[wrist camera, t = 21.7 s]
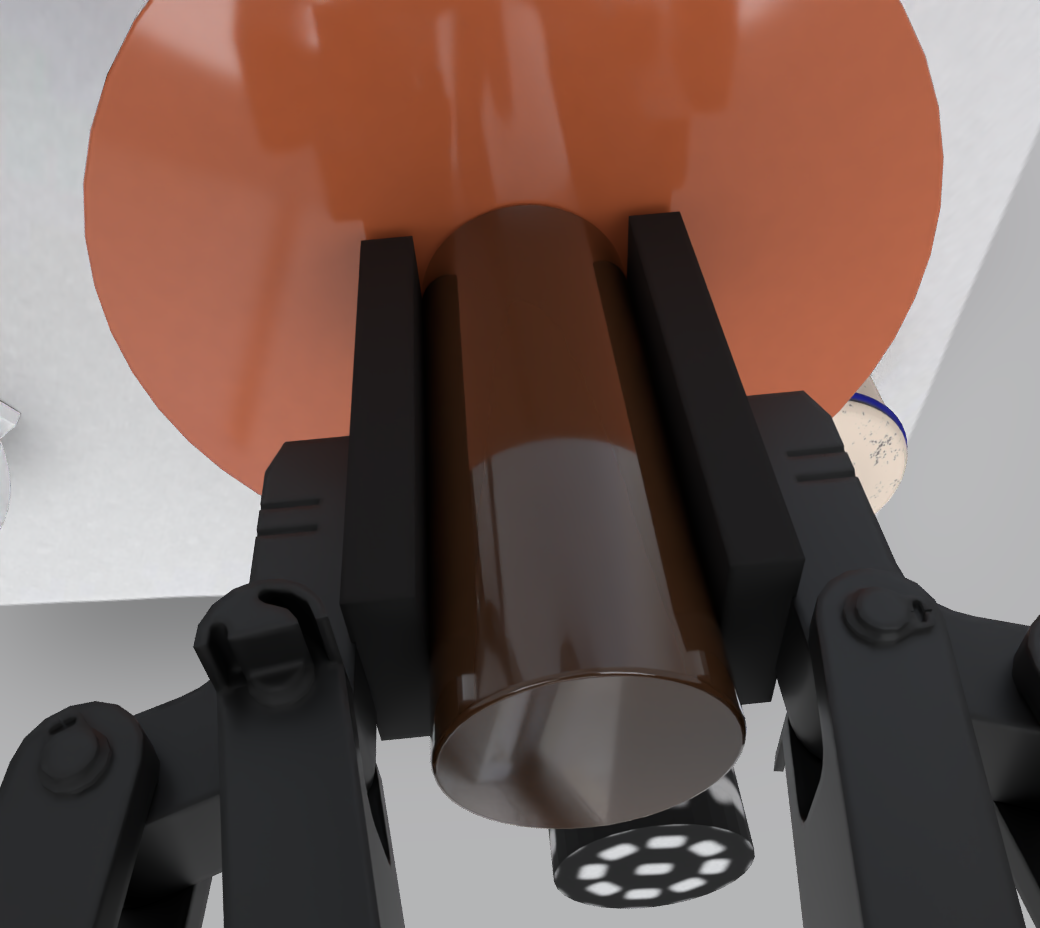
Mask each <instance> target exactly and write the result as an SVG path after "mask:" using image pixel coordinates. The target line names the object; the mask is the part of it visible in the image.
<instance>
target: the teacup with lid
mask: <svg viewBox="0 0 1040 928" xmlns="http://www.w3.org/2000/svg"><path fill="white" fill-rule="evenodd" d="M832 419H833V421H834V424H835V426H836V428H837V430H838V433H839V435H840V437H841V439H842V442H843V444H844V450H845V452H847V453H848V455H849V458H850V460H851V462H852V464H853V467H854V469H855V476H856V477H858V478H859V480H860V482H861V485H862V487H863V489H864V491H865V494H866V496H867V498H868V500H869V503H870V505H871V507H872V510H873V512H874V514H876V513H877V512H878V511H879V510H881V508H883V506H884V505H885V504H886V503H887V502H888V501H889V500H890V498H891V497H892V496H893V494H894V493H895V491H896V490H897V488H898V486H899V484H900V482H901V480H902V478H903V475H904V472H905V468H906V463H907V438H906V434H905V431H904V428H903V426H902V424H901V422H900V421H899V419H898V417H897V416H896V415H895V414H894V413H893V412H892V411H891V410H890V409H889V408H888V407H887V406H885V404H884V402H883V400H882V398H881V396H880V394H879V392H878V390H877V388H876V386H875V384H874V382H873V380H872V378H871V376H869V377H868V378H867V380H866V381H865V382H864V383H863V384H862V385H861V387H860V388H859V389H858V390H857V391H856V393H855V394H854V395H853V396H852V397H851V398H850V400H849V401H848V402H847V403H846V404H845V406H844V407H843V408H842V409H841V410H840V411H839V412H838V413H837V414H836V415H835V416H834V417H833V418H832Z"/></svg>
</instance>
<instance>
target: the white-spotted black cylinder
mask: <svg viewBox="0 0 1040 928" xmlns="http://www.w3.org/2000/svg"><path fill="white" fill-rule="evenodd" d="M549 838H550V846H551V857H552V865H553V875H554V882H555V885H556V887H557V889H558V890H559V891H560V892H561V893H562V894H564V895H565V896H567V897H569V898H571V899H573V900H574V901H578V902H581V903H584V904H587V905H593V906H599V907H606V908H645V907H656V906H662V905H669V904H674V903H678V902H683V901H687V900H691V899H694V898H697V897H700V896H703V895H706V894H709V893H711V892H714V891H716V890H718V889H721V888H723V887H725V886H726V885H728V884H730V883H732V882H733V881H735V880H736V879H738V878H739V877H740V876H741V875H743V874H744V873H745V872H746V871H747V870H748V868H749V867H750V866H751V865H752V862H753V859H754V857H755V856H754V847H753V843H752V839H751V835H750V831H749V828H748V823H747V819H746V815H745V812H744V807H743V803H742V799H741V795H740V792H739V788H738V783H737V780H736V776H735V772H734V767H732V768H731V769H730V770H729V772H728V773H727V774H726V775H724V776H723V777H722V778H721V779H720V780H719V781H718V782H716V783H715V784H714V785H712V786H711V787H709V788H708V789H707V790H705V791H704V792H702V793H700V794H698V795H697V796H695V797H693V798H691V799H689V800H687V801H685V802H683V803H681V804H679V805H677V806H674V807H672V808H669V809H666V810H664V811H661V812H658V813H655V814H652V815H649V816H646V817H642V818H638V819H634V820H630V821H626V822H621V823H615V824H610V825H603V826H596V827H586V828H573V829H549Z"/></svg>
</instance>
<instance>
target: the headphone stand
mask: <svg viewBox="0 0 1040 928" xmlns="http://www.w3.org/2000/svg"><path fill="white" fill-rule="evenodd" d="M20 414H21V413H19V412H17V411H16V410H14V409H13V408H11V407H9V406H8V405H6V404H4V403H3V402H1V401H0V438H1V437H3V436H4V435H5V434H6V433H7V432H9V431H10V430H11V429H12V428H14V427H15V426H16V424H17V422H18V419H19V417H20ZM10 491H11V483H10V472H9V467H8V462H7V458H6V455H5V451H4V448H3V446H2V443H1V441H0V530H1V527H2V525H3V523H4V521H5V518H6V515H7V512H8V508H9V502H10Z"/></svg>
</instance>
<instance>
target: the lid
mask: <svg viewBox="0 0 1040 928" xmlns="http://www.w3.org/2000/svg"><path fill="white" fill-rule="evenodd" d="M942 174H943V147H942V136H941V125H940V115H939V106H938V102H937V98H936V94H935V90H934V87H933V83H932V79H931V75H930V71H929V68H928V64H927V60H926V56H925V53H924V51H923V49H922V47H921V45H920V42H919V40H918V38H917V36H916V34H915V31H914V29H913V27H912V25H911V22H910V20H909V18H908V16H907V14H906V11H905V9H904V7H903V5H902V3H901V2H900V0H145V1H144V2H143V4H142V5H141V7H140V9H139V11H138V13H137V15H136V17H135V19H134V21H133V23H132V25H131V27H130V29H129V31H128V33H127V35H126V37H125V39H124V41H123V43H122V45H121V47H120V49H119V51H118V53H117V55H116V57H115V59H114V62H113V64H112V66H111V68H110V70H109V72H108V74H107V77H106V80H105V83H104V86H103V90H102V93H101V96H100V100H99V103H98V106H97V109H96V113H95V116H94V119H93V122H92V126H91V129H90V136H89V143H88V151H87V158H86V166H85V173H84V181H83V196H84V228H85V240H86V245H87V250H88V255H89V261H90V266H91V271H92V276H93V281H94V286H95V289H96V291H97V294H98V297H99V300H100V303H101V305H102V308H103V311H104V314H105V317H106V320H107V322H108V325H109V328H110V331H111V333H112V335H113V337H114V338H115V340H116V342H117V344H118V346H119V348H120V350H121V352H122V354H123V356H124V357H125V359H126V361H127V363H128V365H129V367H130V369H131V371H132V372H133V374H134V375H135V377H136V378H137V379H138V381H139V382H140V384H141V385H142V386H143V388H144V389H145V391H146V392H147V393H148V395H149V396H150V398H151V399H152V400H153V402H154V403H155V405H156V406H157V407H158V409H159V410H160V411H161V412H162V413H163V414H164V415H165V416H166V417H167V419H168V420H169V421H170V422H171V423H172V424H173V425H174V426H175V427H176V428H177V429H178V430H179V431H180V433H181V434H182V435H183V436H184V437H185V438H186V439H187V440H188V441H189V442H190V443H191V444H192V445H194V446H195V447H196V448H197V449H198V450H199V451H201V452H202V453H203V454H204V455H205V456H206V457H208V458H209V459H210V460H211V461H212V462H214V463H215V464H216V465H217V466H218V467H219V468H221V469H222V470H223V471H225V472H226V473H228V474H229V475H231V476H232V477H234V478H235V479H237V480H238V481H240V482H241V483H243V484H244V485H246V486H247V487H249V488H250V489H252V490H253V491H254V492H256V493H257V494H259V495H261V496H262V489H263V482H264V475H265V471H266V470H267V468H268V467H269V465H270V464H271V462H272V460H273V459H274V457H275V456H276V454H277V453H278V451H279V450H280V448H281V447H282V445H283V444H284V442H288V441H299V440H309V439H320V438H330V437H341V436H349V432H350V415H351V398H352V381H353V364H354V347H355V330H356V314H357V297H358V280H359V263H360V246H361V240H372V239H383V238H394V237H405V236H413V242H414V249H415V255H416V262H417V268H418V275H419V281H420V288H421V294H422V316H423V369H424V421H425V474H426V526H427V579H428V631H429V708H430V760H431V768H432V773H433V775H434V778H435V780H436V782H437V784H438V786H439V787H440V788H441V790H442V791H443V793H444V794H445V795H446V796H447V797H448V798H449V799H450V800H451V801H453V802H454V803H456V804H457V805H459V806H460V807H462V808H463V809H466V810H467V811H469V812H471V813H473V814H476V815H478V816H481V817H484V818H486V819H489V820H493V821H497V822H501V823H505V824H510V825H516V826H524V827H531V828H546V829H573V828H586V827H596V826H603V825H610V824H615V823H621V822H626V821H630V820H634V819H638V818H642V817H646V816H649V815H652V814H655V813H658V812H661V811H664V810H666V809H669V808H672V807H674V806H677V805H679V804H681V803H683V802H685V801H687V800H689V799H691V798H693V797H695V796H697V795H698V794H700V793H702V792H704V791H705V790H707V789H708V788H709V787H711V786H712V785H714V784H715V783H716V782H718V781H719V780H720V779H721V778H722V777H723V776H724V775H726V774H727V773H728V772H729V770H730V769H731V768H732V767H733V766H734V764H735V763H736V762H737V760H738V758H739V757H740V755H741V753H742V750H743V747H744V744H745V740H746V730H747V727H746V721H745V717H744V713H743V709H742V705H741V702H740V698H739V694H738V691H737V687H736V683H735V679H734V676H733V672H732V668H731V665H730V661H729V657H728V653H727V650H726V646H725V642H724V639H723V635H722V631H721V628H720V624H719V620H718V616H717V613H716V609H715V605H714V602H713V598H712V594H711V590H710V587H709V583H708V579H707V576H706V572H705V568H704V565H703V561H702V557H701V553H700V550H699V546H698V542H697V539H696V535H695V531H694V527H693V524H692V520H691V516H690V513H689V509H688V505H687V502H686V498H685V494H684V490H683V487H682V483H681V479H680V476H679V472H678V468H677V465H676V461H675V457H674V453H673V450H672V446H671V442H670V439H669V435H668V431H667V427H666V424H665V420H664V416H663V413H662V409H661V405H660V402H659V398H658V394H657V390H656V387H655V383H654V379H653V376H652V372H651V368H650V364H649V361H648V357H647V353H646V350H645V346H644V342H643V339H642V335H641V331H640V327H639V324H638V320H637V316H636V313H635V309H634V305H633V301H632V298H631V294H630V290H629V287H628V283H627V257H628V220H629V216H634V215H645V214H656V213H667V212H678V211H680V213H681V216H682V219H683V221H684V224H685V227H686V230H687V232H688V235H689V238H690V241H691V244H692V246H693V249H694V252H695V255H696V257H697V260H698V263H699V266H700V268H701V271H702V274H703V277H704V279H705V282H706V285H707V288H708V291H709V293H710V296H711V299H712V302H713V304H714V307H715V310H716V313H717V315H718V318H719V321H720V324H721V326H722V329H723V332H724V335H725V338H726V340H727V343H728V346H729V349H730V351H731V354H732V357H733V360H734V362H735V365H736V368H737V371H738V373H739V376H740V379H741V382H742V384H743V387H744V390H745V393H746V396H750V395H760V394H771V393H781V392H792V391H803V390H804V391H805V392H806V393H807V394H808V395H809V396H810V397H811V398H812V399H813V400H814V401H816V402H817V403H818V404H819V405H820V406H821V407H822V408H823V409H824V410H825V411H826V412H827V413H829V414H830V415H831V417H832V418H833V417H834V416H835V415H836V414H837V413H838V412H839V411H840V410H841V409H842V408H843V407H844V406H845V404H846V403H847V402H848V401H849V400H850V398H851V397H852V396H853V395H854V394H855V393H856V391H857V390H858V389H859V388H860V387H861V385H862V384H863V383H864V382H865V381H866V380H867V378H868V377H869V376H870V374H871V373H872V371H873V370H874V368H875V367H876V365H877V364H878V362H879V361H880V360H881V358H882V357H883V355H884V354H885V352H886V351H887V349H888V348H889V346H890V345H891V343H892V342H893V340H894V338H895V336H896V335H897V333H898V331H899V329H900V327H901V325H902V323H903V321H904V319H905V317H906V315H907V313H908V311H909V309H910V307H911V305H912V303H913V301H914V299H915V297H916V294H917V291H918V288H919V286H920V283H921V280H922V277H923V274H924V272H925V269H926V266H927V263H928V261H929V258H930V255H931V250H932V246H933V241H934V236H935V231H936V227H937V222H938V217H939V212H940V207H941V190H942Z"/></svg>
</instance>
